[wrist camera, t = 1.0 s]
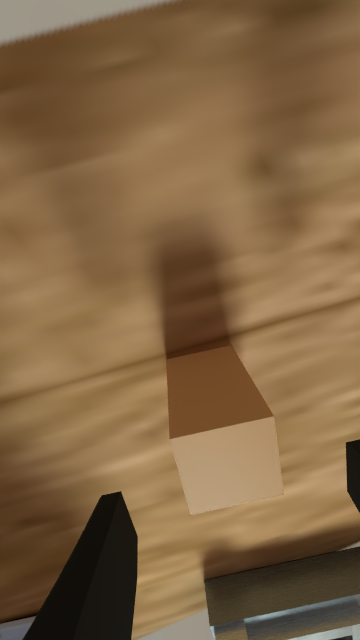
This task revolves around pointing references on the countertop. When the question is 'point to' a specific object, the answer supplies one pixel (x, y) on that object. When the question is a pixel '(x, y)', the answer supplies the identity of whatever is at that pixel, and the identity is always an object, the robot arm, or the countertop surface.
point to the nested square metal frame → (289, 600)
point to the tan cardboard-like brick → (221, 432)
